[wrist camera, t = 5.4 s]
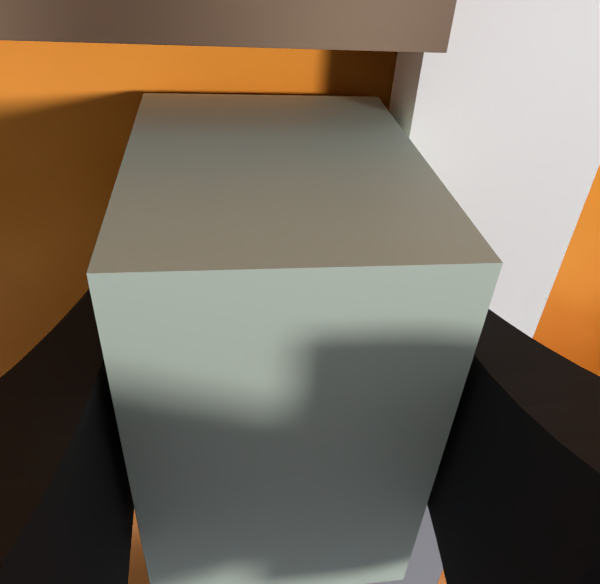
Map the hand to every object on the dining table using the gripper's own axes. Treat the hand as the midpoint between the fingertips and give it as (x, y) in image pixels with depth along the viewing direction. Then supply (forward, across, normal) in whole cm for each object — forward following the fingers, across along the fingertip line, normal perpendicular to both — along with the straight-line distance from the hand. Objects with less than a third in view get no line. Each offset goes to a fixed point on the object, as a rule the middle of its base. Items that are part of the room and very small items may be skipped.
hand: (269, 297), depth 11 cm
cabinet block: (+2, 0, 0) cm, 2 cm away
